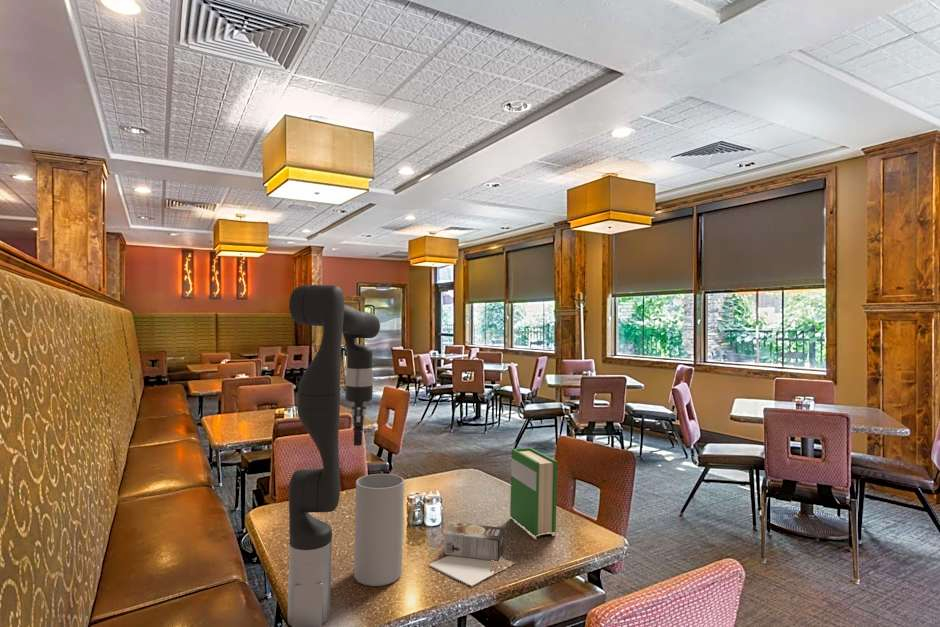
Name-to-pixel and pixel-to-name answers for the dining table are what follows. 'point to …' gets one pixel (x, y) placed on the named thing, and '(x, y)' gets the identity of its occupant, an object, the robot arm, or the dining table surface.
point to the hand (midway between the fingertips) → (357, 444)
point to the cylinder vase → (378, 529)
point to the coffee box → (474, 541)
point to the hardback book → (533, 490)
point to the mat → (464, 568)
